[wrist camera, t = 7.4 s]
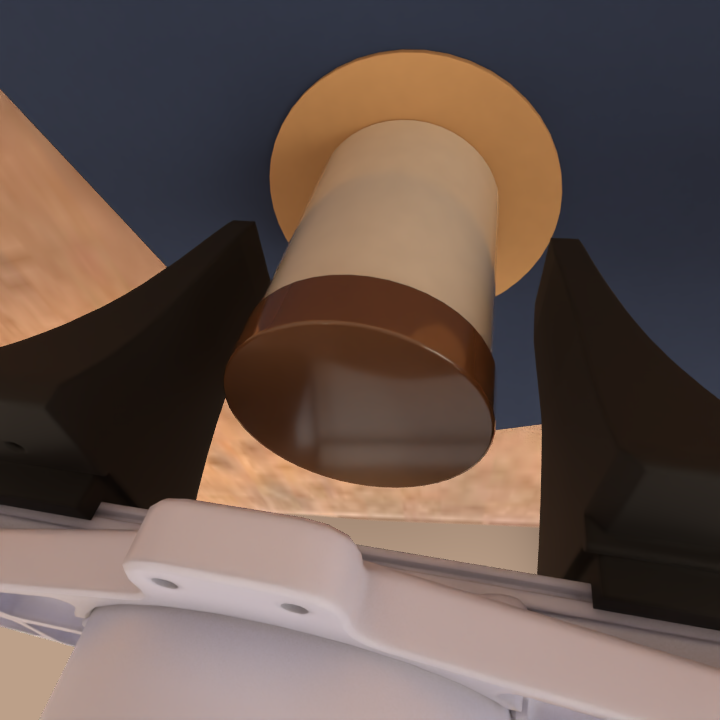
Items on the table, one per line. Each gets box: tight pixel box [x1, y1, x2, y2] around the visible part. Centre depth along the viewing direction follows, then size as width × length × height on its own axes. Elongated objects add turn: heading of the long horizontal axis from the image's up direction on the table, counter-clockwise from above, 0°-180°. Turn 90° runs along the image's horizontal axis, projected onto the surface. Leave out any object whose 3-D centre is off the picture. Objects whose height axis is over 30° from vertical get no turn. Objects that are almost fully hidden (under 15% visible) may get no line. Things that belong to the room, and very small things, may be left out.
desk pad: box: [0, 0, 720, 430], centre depth 15 cm, size 22×18×1 cm
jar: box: [223, 120, 499, 488], centre depth 12 cm, size 5×5×7 cm
